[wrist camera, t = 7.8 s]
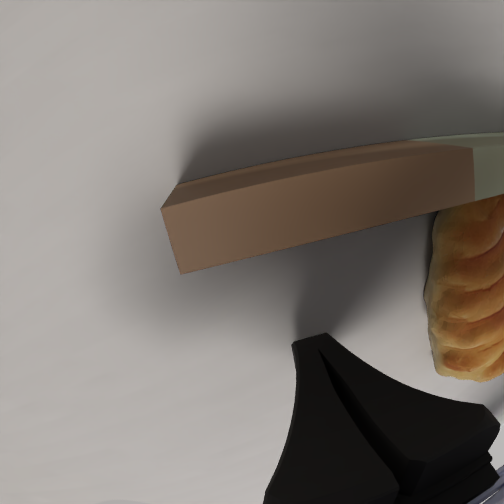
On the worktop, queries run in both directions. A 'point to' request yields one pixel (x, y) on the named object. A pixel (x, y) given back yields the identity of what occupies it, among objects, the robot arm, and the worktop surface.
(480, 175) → the two-tone corner bracket
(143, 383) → the worktop surface
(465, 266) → the pastry
